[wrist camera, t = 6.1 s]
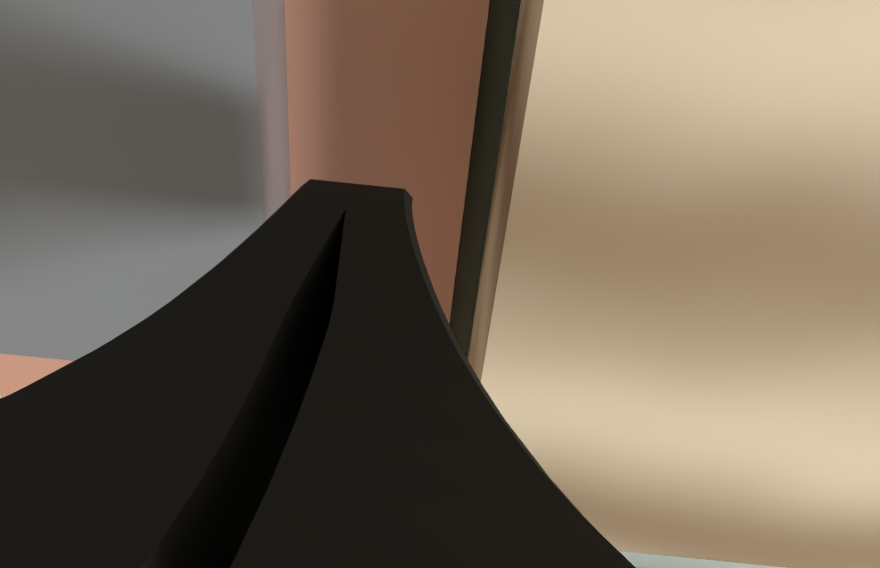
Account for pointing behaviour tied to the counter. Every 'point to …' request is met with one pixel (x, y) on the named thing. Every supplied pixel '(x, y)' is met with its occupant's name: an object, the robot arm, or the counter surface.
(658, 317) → the birch deck
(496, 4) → the counter surface
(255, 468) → the robot arm
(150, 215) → the slate tile
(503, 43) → the counter surface
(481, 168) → the counter surface
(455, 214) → the terracotta mat
